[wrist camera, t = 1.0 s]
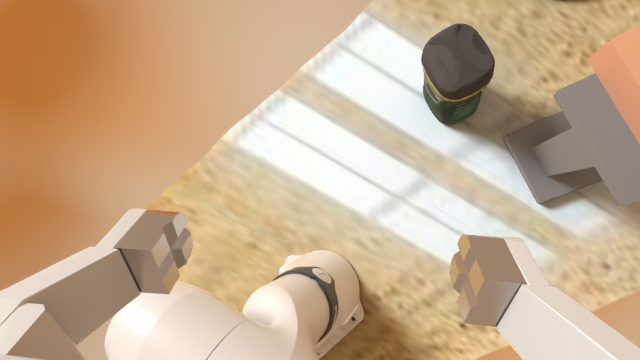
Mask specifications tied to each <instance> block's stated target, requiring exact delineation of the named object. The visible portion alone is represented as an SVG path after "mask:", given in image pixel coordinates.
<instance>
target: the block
mask: <svg viewBox="0 0 640 360" xmlns="http://www.w3.org/2000/svg"><path fill="white" fill-rule="evenodd" d="M588 62H589V64H590V65H591V67H592V68H593V70H594V72H595V73H596V75H597V77H598V78H599V80H600V81H601V83H602V85H603V86H604V88H605V89H606V91H607V93H608V94H609V96H610V98H611V99H612V101H613V102H614V104H615V106H616V107H617V109H618V110H619V112H620V114H621V115H622V117H623V119H624V120H625V122H626V123H627V125H628V127H629V128H630V130H631V132H632V133H633V135H634V136H635V138H636V140H637V141H638V143H639V144H640V26H638V27H636V28H634V29H632V30H630V31H628V32H625V33H623V34H621V35H619V36H617V37H615V38H613V39H611V40H609V41H608V42H607V43H606V44H605V45H603V46H602V47H601V48H600V49H599V50H598V51H597V52H596V53H594V54H593V55H592V56H591V57H590V58H589V59H588Z"/></svg>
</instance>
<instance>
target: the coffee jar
mask: <svg viewBox="0 0 640 360" xmlns="http://www.w3.org/2000/svg"><path fill="white" fill-rule="evenodd" d="M421 60H422V66H423V71H424V86H423V94H424V97H425V100H426V102H427V104H428V106H429V108H430V110H431V111H432V113H433V114H434V116H435V117H436V118H437V119H438V120H439V121H440V122H441V123H443V124H455V123H457V122H460V121H462V120H464V119H466V118H467V117H469V116H470V115H472V114H473V113H474V112H475V110H476V109H477V107H478V104H479V101H480V96H481V92H482V90H483V89H484V88H485V87H486V86H487V85H488V84H489V82H490V81H491V79H492V76H493V72H494V66H495V61H494V57H493V55H492V53H491V52H490V50H489V48H488V46H487V45H486V43H485V42H484V40H483V39H482V37H481V36H480V35H479V34H478V32H477V31H476V30H475V29H474V28H473V27H471V26H469V25H466V24H454V25H452V26H450V27H448V28H446V29H444V30H442V31H441V32H439V33H438V34H436V35H435V36H433V37H432V38H431V39H430V40H429V41H428V42H427V44H426V45H425V47H424V49H423V53H422V59H421Z"/></svg>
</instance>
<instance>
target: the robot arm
mask: <svg viewBox="0 0 640 360" xmlns="http://www.w3.org/2000/svg"><path fill="white" fill-rule="evenodd" d="M187 223H188V222H187V219H186V217H185V214H183V213H180V212H171V211H161V210H151V209H150V210H147V209H138V208H133V209H131V210H128V212H127V213H126V214H125V215H124V216H123V217H122V218H121V219H120V220H119V222H118V223H117V224H116V225H115V226H114V227H113V228H112V229H111V230H110V231H109V233H108V234H107V235H106V236H105V237H104V238H103V239H102V240H101V241H100V242H99V243H98V245H97V246H96V247H88V248H86V249H84V250H82V251H80V252H78V253H76V254H74V255H72V256H70V257H68V258H66V259H64V260H62V261H60V262H58V263H56V264H54V265H52V266H50V267H48V268H46V269H44V270H42V271H40V272H38V273H36V274H34V275H32V276H30V277H28V278H26V279H24V280H22V281H20V282H18V283H16V284H14V285H12V286H10V287H8V288H7V289H4V290H2V291H0V360H86V358H85V355H84V354H83V353H82V351H81V350H80V349H79V348H78V347H77V344H78V343H79V342H81V341H82V340H83V339H84V338H86V337H87V336H88V335H90V334H91V333H92V332H93V331H95V330H96V329H97V328H98V327H100V326H101V325H102V324H103V323H105V322H106V321H107V320H109V319H110V318H111V317H112V316H114V317H113V318H112V320H111V322H110V325H109V327H108V330H107V333H106V337H105V342H104V348H105V352H106V355H107V359H108V360H319V359H320V358H321V357H322V356H323V355H325V354H326V353H327V352H328V351H329V350H330V349H331V348H332V347H333V346H334V345H335V344H337V343H338V342H339V341H340V340H341V339H342V338H343V337H344V336H345V335H346V334H347V333H349V332H350V331H351V330H352V329H353V328H354V327H355V326H356V325H357V324H358V323H359V322H360V321H362V320H363V318H364V310H363V307H362V305H361V302H360V289H359V282H358V278H357V275H356V273H355V271H354V269H353V268H352V266H351V265H350V264H349V262H348V261H347V260H345V259H344V258H343V257H342V256H340V255H338V254H336V253H334V252H331V251H327V250H317V251H313V252H310V253H307V254H304V255H290V256H288V257H287V258H286V261H285V263H284V266H283V267H281V268H280V270H279V271H280V273H279V275H278V276H277V277H276V278H275V279H274V280H273V281H272V282H270V283H268V284H267V285H265V286H263V287H261V288H259V289H258V290H256V291H255V292H254V293H253V294H252V295H251V296H250V298H249V299H248V300H247V302H246V304H245V306H244V308H243V311H242V313H240V312H239V311H237V310H236V309H234V308H233V307H231V306H230V305H228V304H227V303H225V302H224V301H222V300H221V299H219V298H218V297H216V296H215V295H213V294H212V293H210V292H209V291H207V290H205V289H202V288H199V287H197V286H194V285H191V284H189V283H186V282H183V281H179V280H177V279H178V278H179V276H180V275H179V271H178V269H179V268H180V267H182V266H183V265H185V264H186V263H187V261H188V259H189V258H190V256H191V251H192V247H193V240H192V236H191V233H190V232H189V231H188V230H187V229H185V228H184V227H185V226H186V224H187ZM458 247H459V250H460V251H459V252H457V253H456V254H454V255H453V258H452V262H451V270H450V274H451V281H452V284H453V288H454V289H455V290H457V291H458V292H459V293H460V296H459V298H458V301H457V302H458V305H459V309H460V312H461V315H462V319H463V322H464V323H468V324H476V325H484V326H492V327H496V329H497V330H498V332H499V333H500V334H501V335H502V336H503V337H504V338H505V340H506V341H507V342H508V343H509V344H510V345H511V346H512V348H513V349H514V350H515V351H516V352H517V353H518V354H519V355H520V357H521V358H522V359H523V360H640V348H638V347H637V346H636V345H634V344H633V343H631V342H630V341H629V340H627V339H626V338H625V337H623V336H622V335H621V334H619V333H618V332H616V331H615V330H614V329H612V328H611V327H610V326H608V325H607V324H605V323H604V322H603V321H601V320H600V319H599V318H597V317H596V316H595V315H593V314H592V313H591V312H589V311H588V310H587V309H585V308H584V307H582V306H581V305H580V304H578V303H577V302H576V301H574V300H573V299H572V298H570V297H569V296H567V295H566V294H565V293H563V292H562V291H561V290H559V289H558V288H557V287H550V285H549V284H548V282H547V280H546V279H545V277H544V275H543V273H542V272H541V270H540V268H539V267H538V265H537V263H536V262H535V260H534V258H533V257H532V255H531V253H530V251H529V250H528V248H527V246H526V245H525V243H524V241H523V240H521V239H520V238H509V237H492V236H477V235H462V236H461V237H460V239H459V242H458ZM352 317H354V318H355V320H352Z"/></svg>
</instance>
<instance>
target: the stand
mask: <svg viewBox="0 0 640 360" xmlns="http://www.w3.org/2000/svg"><path fill="white" fill-rule="evenodd" d="M553 96H554V97H555V99H556V101H557V103H558V104H559V106H560V108H561V109H562V112H560V113H557V114H555V115H553V116H550V117H548V118H546V119H543V120H541V121H539V122H537V123H534V124H532V125H530V126H527V127H525V128H523V129H520V130H518V131H516V132H513V133H511V134H509V135H507V136H505V137H503V140H504V142H505V144H506V146H507V147H508V149H509V151H510V153H511V155H512V157H513V159H514V161H515V162H516V164H517V166H518V168H519V170H520V172H521V174H522V176H523V177H524V179H525V181H526V183H527V185H528V187H529V189H530V191H531V192H532V194H533V196H534V198H535V200H536V202H537V203H542V202H544V201H547V200H550V199H553V198H555V197H558V196H561V195H563V194H566V193H569V192H572V191H574V190H577V189H580V188H583V187H585V186H588V185H591V184H593V183H596V182H599V181H602V180H603V182H604V183H605V185H606V187H607V189H608V190H609V192H610V194H611V195H612V197H613V199H614V201H615V202H616V204H617V205H631V204H634V203H637V202H640V144H639V143H638V141H637V140H636V138H635V136H634V135H633V133H632V132H631V130H630V128H629V127H628V125H627V123H626V122H625V120H624V119H623V117H622V115H621V114H620V112H619V110H618V109H617V107H616V106H615V104H614V102H613V101H612V99H611V98H610V96H609V94H608V93H607V91H606V89H605V88H604V86H603V85H602V83H601V81H600V80H599V78H598V77H597V75H596V73H595V74H593V75H591V76H589V77H587V78H584V79H582V80H580V81H578V82H575V83H573V84H571V85H569V86H567V87H564V88H562V89H560V90H559V91H558V92H557V93H556V94H554V95H553Z"/></svg>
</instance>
